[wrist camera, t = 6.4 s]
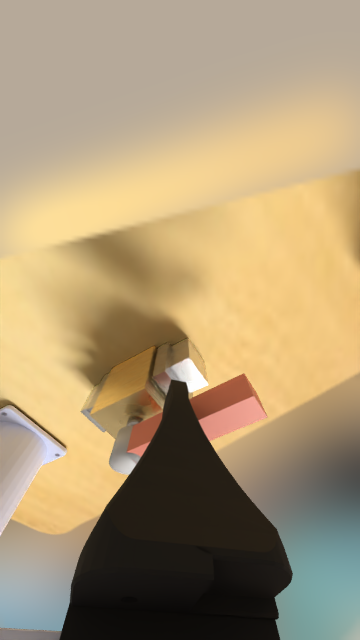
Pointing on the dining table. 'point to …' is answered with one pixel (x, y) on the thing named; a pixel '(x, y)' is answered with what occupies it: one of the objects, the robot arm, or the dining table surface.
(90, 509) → the dining table surface
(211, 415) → the lever
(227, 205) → the dining table surface
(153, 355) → the valve base
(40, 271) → the dining table surface
